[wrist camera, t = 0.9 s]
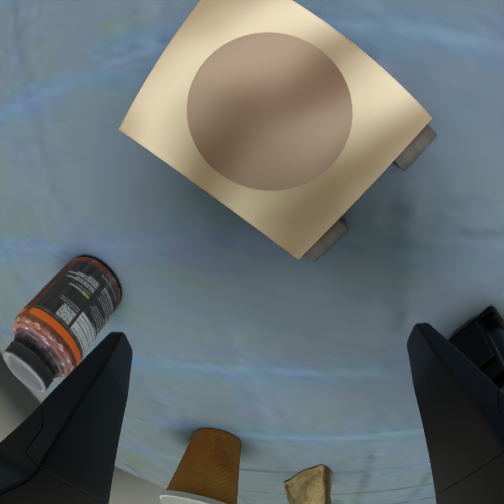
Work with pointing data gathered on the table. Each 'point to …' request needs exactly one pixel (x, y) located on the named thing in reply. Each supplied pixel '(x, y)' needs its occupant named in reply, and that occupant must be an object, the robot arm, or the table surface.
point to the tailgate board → (276, 118)
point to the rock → (310, 486)
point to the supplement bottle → (62, 323)
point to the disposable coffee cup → (206, 470)
